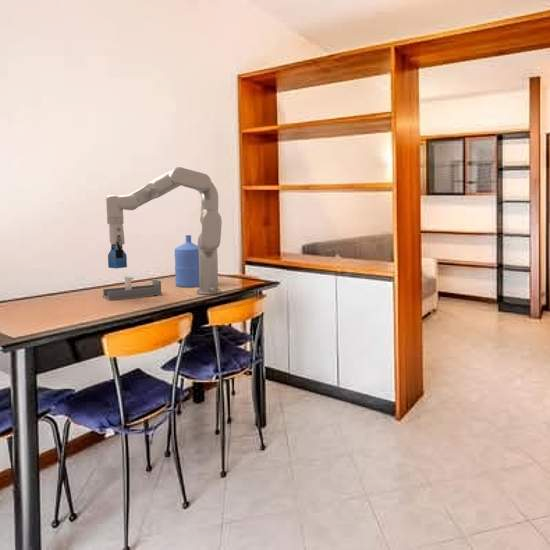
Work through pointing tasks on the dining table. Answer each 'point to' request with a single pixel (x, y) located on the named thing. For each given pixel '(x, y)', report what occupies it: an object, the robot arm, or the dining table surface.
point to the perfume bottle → (116, 259)
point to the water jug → (187, 264)
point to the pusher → (128, 282)
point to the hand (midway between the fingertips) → (117, 257)
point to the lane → (133, 291)
